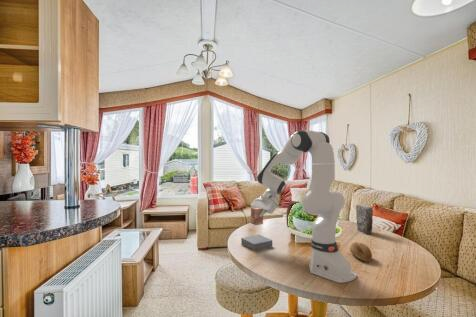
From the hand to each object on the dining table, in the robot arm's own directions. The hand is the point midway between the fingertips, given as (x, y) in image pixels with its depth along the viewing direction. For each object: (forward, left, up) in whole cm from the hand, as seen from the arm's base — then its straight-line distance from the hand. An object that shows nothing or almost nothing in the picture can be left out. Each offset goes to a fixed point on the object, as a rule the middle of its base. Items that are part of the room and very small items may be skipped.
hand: (256, 215), depth 161 cm
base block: (0, -1, -19) cm, 19 cm away
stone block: (-21, -87, -19) cm, 91 cm away
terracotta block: (0, -1, -5) cm, 5 cm away
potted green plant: (+20, -54, -19) cm, 60 cm away
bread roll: (-47, -38, -20) cm, 63 cm away
